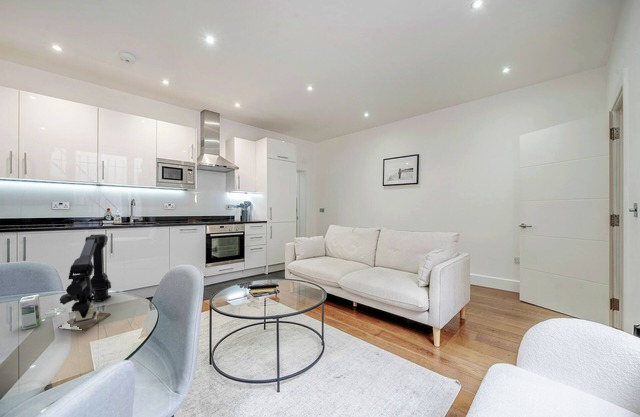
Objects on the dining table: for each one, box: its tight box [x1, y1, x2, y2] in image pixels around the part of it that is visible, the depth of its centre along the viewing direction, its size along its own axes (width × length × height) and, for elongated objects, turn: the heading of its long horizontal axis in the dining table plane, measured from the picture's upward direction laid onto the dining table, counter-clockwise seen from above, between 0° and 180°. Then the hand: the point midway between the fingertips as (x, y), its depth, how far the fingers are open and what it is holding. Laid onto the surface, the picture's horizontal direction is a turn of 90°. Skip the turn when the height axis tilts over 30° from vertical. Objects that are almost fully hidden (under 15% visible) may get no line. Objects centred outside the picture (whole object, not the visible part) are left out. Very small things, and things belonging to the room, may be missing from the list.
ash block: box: [74, 303, 95, 321], centre depth 131 cm, size 6×6×5 cm
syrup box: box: [19, 293, 42, 331], centre depth 125 cm, size 6×6×14 cm
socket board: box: [57, 309, 111, 332], centre depth 132 cm, size 14×14×2 cm
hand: (85, 314), depth 131 cm, fingers closed on ash block, 6 cm apart
